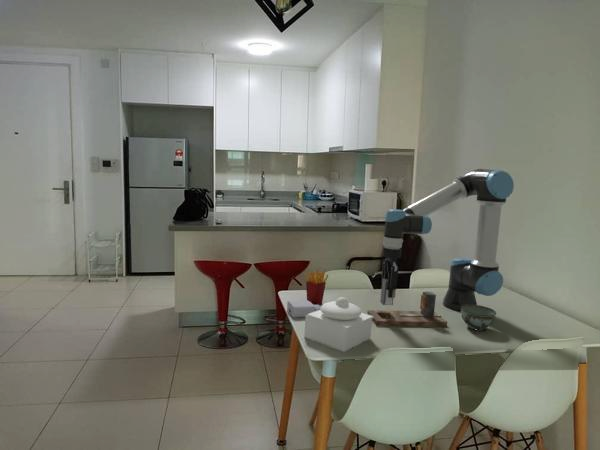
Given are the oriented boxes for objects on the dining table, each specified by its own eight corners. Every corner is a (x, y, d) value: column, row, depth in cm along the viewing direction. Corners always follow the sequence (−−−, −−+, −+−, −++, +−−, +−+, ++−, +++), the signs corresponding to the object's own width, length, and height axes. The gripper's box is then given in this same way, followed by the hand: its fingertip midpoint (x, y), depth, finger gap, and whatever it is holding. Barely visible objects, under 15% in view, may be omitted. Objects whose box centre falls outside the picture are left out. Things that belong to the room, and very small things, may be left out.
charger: (327, 316, 192) (293, 318, 188) (319, 309, 201) (286, 311, 196) (328, 305, 192) (294, 307, 187) (320, 299, 200) (287, 300, 196)
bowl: (454, 321, 196) (456, 303, 195) (486, 323, 196) (488, 305, 195) (464, 333, 182) (467, 313, 181) (499, 335, 182) (501, 316, 181)
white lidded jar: (304, 337, 168) (306, 295, 166) (332, 326, 182) (335, 287, 179) (344, 352, 157) (347, 307, 155) (371, 339, 171) (375, 297, 168)
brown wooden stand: (433, 315, 201) (436, 289, 200) (446, 326, 189) (450, 298, 187) (367, 314, 197) (369, 287, 195) (376, 325, 184) (378, 296, 183)
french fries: (315, 306, 204) (317, 273, 202) (301, 301, 210) (303, 269, 207) (327, 302, 211) (330, 270, 209) (313, 298, 216) (315, 267, 214)
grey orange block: (383, 304, 188) (385, 281, 187) (380, 301, 192) (382, 278, 191) (394, 305, 189) (397, 281, 188) (391, 302, 193) (393, 279, 191)
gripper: (408, 252, 179) (402, 309, 183) (393, 243, 196) (388, 297, 199) (390, 251, 178) (384, 309, 182) (377, 243, 195) (371, 296, 198)
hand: (386, 302), depth 190 cm, fingers closed on grey orange block, 4 cm apart
